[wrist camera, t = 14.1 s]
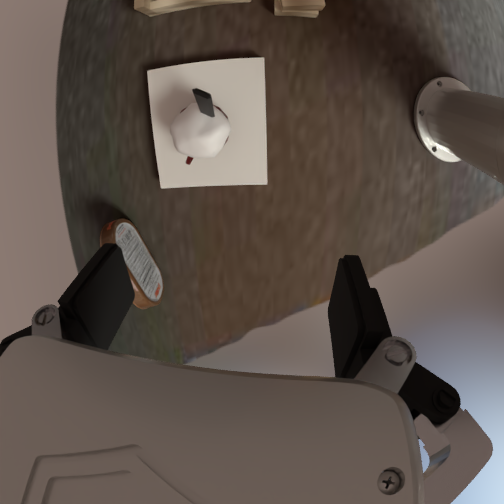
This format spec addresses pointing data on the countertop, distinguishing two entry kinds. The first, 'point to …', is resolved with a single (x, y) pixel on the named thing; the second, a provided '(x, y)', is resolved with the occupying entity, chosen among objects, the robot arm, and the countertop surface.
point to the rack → (175, 5)
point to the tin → (136, 261)
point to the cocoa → (200, 128)
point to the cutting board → (231, 103)
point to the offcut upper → (302, 5)
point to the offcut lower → (294, 13)
